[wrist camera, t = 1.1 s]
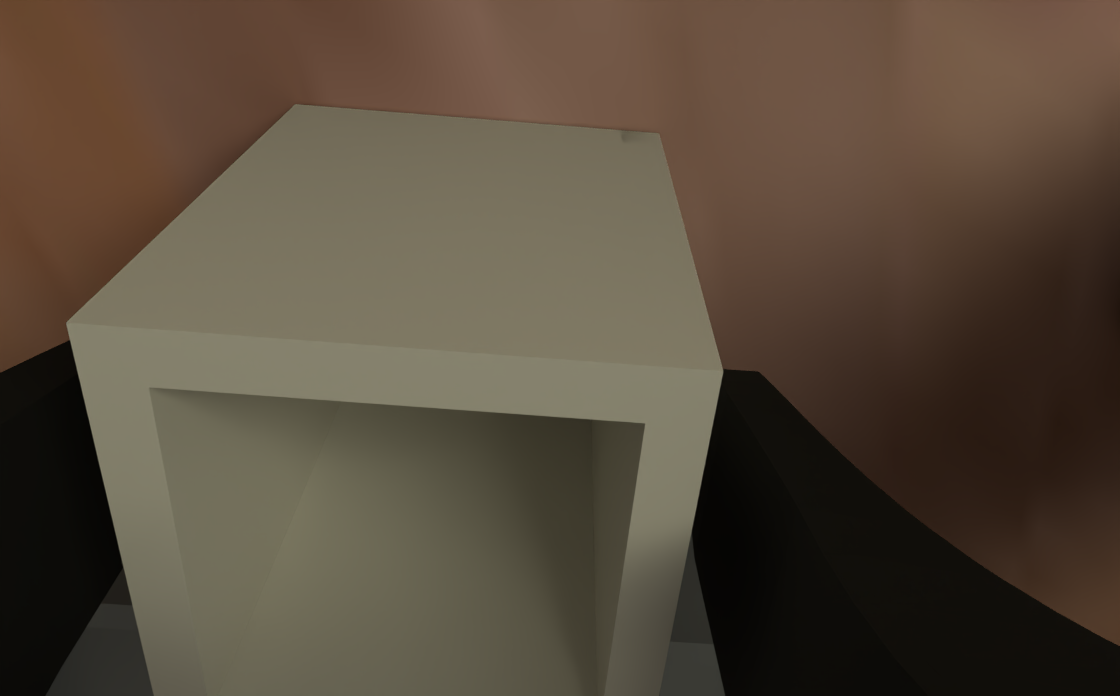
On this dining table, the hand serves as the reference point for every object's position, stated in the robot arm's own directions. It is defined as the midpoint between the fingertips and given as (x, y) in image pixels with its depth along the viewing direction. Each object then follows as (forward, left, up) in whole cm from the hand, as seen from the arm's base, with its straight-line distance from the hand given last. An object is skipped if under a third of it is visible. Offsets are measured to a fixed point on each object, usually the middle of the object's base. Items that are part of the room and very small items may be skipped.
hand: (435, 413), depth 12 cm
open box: (0, 0, -4) cm, 4 cm away
